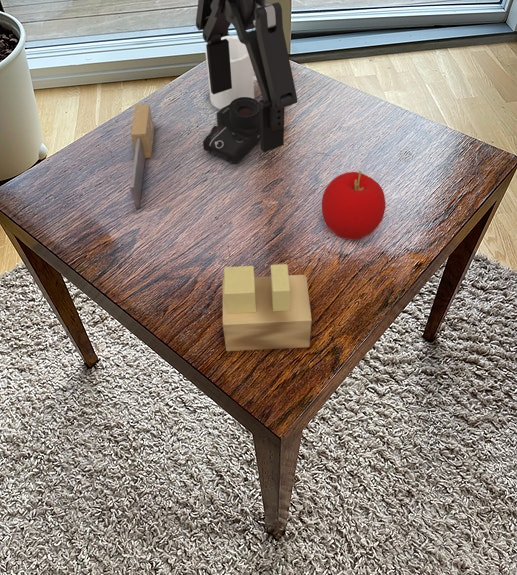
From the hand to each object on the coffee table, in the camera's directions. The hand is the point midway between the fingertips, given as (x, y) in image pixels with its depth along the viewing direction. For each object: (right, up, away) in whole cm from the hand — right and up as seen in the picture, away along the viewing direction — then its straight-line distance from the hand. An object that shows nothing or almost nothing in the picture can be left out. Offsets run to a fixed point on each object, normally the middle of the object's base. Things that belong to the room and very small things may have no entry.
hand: (245, 117), depth 71 cm
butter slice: (+4, -23, -2) cm, 23 cm away
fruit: (+15, -12, +13) cm, 24 cm away
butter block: (0, -23, -2) cm, 23 cm away
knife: (-17, -1, +23) cm, 29 cm away
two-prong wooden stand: (+3, -26, +3) cm, 27 cm away
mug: (-1, +14, +34) cm, 37 cm away
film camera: (-2, +4, +27) cm, 27 cm away
